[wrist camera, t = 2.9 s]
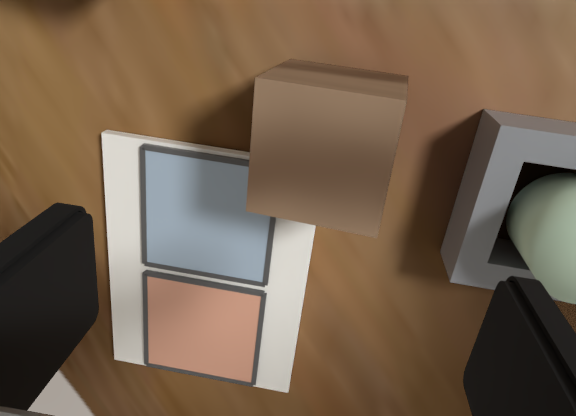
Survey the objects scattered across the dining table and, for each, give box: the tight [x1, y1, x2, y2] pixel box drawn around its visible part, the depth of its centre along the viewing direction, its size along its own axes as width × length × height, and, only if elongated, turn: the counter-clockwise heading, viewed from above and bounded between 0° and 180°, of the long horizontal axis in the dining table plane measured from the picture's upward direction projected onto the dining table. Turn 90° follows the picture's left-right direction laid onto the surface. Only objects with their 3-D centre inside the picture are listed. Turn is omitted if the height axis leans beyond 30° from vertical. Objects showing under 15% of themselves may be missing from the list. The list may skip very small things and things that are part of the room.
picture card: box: [101, 130, 316, 393], centre depth 28 cm, size 16×12×1 cm
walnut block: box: [246, 59, 408, 238], centre depth 20 cm, size 6×6×6 cm
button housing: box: [440, 109, 576, 302], centre depth 22 cm, size 8×8×3 cm
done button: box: [506, 173, 576, 304], centre depth 20 cm, size 4×4×4 cm
